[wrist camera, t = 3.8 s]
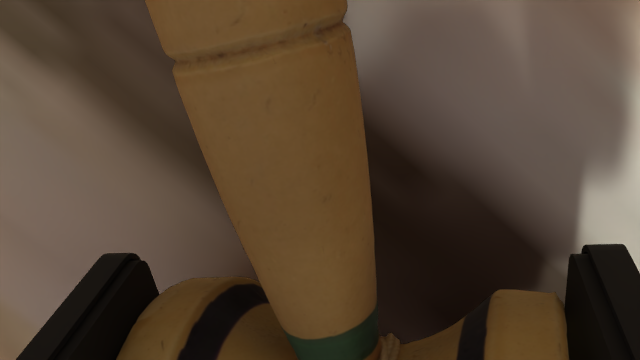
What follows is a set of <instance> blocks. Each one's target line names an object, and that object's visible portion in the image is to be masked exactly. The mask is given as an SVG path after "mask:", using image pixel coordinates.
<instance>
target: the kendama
mask: <svg viewBox="0 0 640 360" xmlns="http://www.w3.org/2000/svg"><path fill="white" fill-rule="evenodd" d="M145 3H146V5H147V8H148V11H149V13H150V16H151V19H152V22H153V24H154V27H155V29H156V32H157V35H158V37H159V40H160V43H161V46H162V48H163V50H164V52H165V53H166V54H167V55H168V56H169V57H171V58H172V59H174V60H175V64H174V67H173V69H172V72H173V74H174V78H175V82H176V85H177V88H178V91H179V93H180V96H181V99H182V101H183V104H184V107H185V109H186V112H187V114H188V117H189V119H190V122H191V125H192V127H193V130H194V133H195V135H196V138H197V140H198V143H199V145H200V148H201V150H202V153H203V155H204V158H205V160H206V163H207V165H208V168H209V170H210V173H211V175H212V178H213V180H214V182H215V185H216V187H217V190H218V192H219V195H220V197H221V199H222V201H223V204H224V206H225V208H226V211H227V213H228V215H229V218H230V220H231V222H232V224H233V227H234V229H235V231H236V233H237V235H238V237H239V239H240V241H241V244H242V246H243V248H244V250H245V252H246V254H247V256H248V258H249V260H250V262H251V264H252V266H253V268H254V270H255V273H256V275H257V277H258V279H259V282H258V281H256V280H254V279H251V278H247V277H216V278H215V277H211V278H192V279H189V280H186V281H182V282H181V283H179V284H176V285H174V286H171V287H170V288H168V289H167V290H165V291H164V292H163V293H161V294H160V295H159V296H157V297H156V298H155V299H154V300H153V301H152V302H151V303H150V304H149V305H148V306H147V307H146V309H145V310H144V311H143V312H142V313H141V315H140V316H139V317H138V319H137V321H136V324H134V325H133V327H132V329H131V331H130V333H129V334H128V336H127V339H126V341H125V342H124V344H123V346H122V348H121V350H120V352H119V354H118V356H117V359H116V360H569V354H568V342H567V323H566V318H565V312H564V310H565V309H564V304H563V302H562V301H561V300H560V299H559V298H558V296H557V294H556V292H553V293H545V292H534V291H524V290H515V289H514V290H507V289H503V290H498V291H496V292H495V293H493V294H492V295H491V296H490V297H488V298H487V299H486V300H484V301H483V302H482V303H481V304H480V305H479V306H478V307H477V308H476V309H474V310H473V311H472V312H470V313H469V314H468V315H467V316H465V317H463V318H462V319H461V320H460V321H458V322H457V323H455V324H454V325H452V326H451V327H449V328H447V329H445V330H443V331H441V332H439V333H437V334H434V335H432V336H430V337H427V338H424V339H421V340H418V341H412V342H410V343H407V344H400V340H399V339H397V338H396V337H395V336H394V335H393V334H392V333H389V334H388V335H387V336H386V337H384V336H382V337H380V334H379V331H378V325H377V322H378V301H377V292H376V290H377V283H376V265H375V253H374V229H373V217H372V200H371V192H370V178H369V169H368V157H367V148H366V139H365V130H364V121H363V112H362V104H361V96H360V88H359V81H358V74H357V68H356V60H355V53H354V47H353V42H352V36H351V31H350V28H349V27H348V26H347V25H346V24H344V23H343V22H342V21H343V17H344V15H345V13H346V11H347V0H145Z"/></svg>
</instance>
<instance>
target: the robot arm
mask: <svg viewBox="0 0 640 360" xmlns="http://www.w3.org/2000/svg"><path fill="white" fill-rule="evenodd" d="M157 296H159V292H158V290H157V287H156V284H155V282H154V279H153V276H152V274H151V271H150V268H149V266H148V264H147V263H146V262H145V261H142V260H141V259H140V258H139V256H138V255H136V254H134V253H107V254H104V255H102V256H101V257H100V258H99V259H98V260H97V262H96V263H95V264H94V265H93V267H92V268H91V269H90V270H89V271H88V273H87V274H86V275H85V276H84V277H83V279H82V280H81V281H80V282H79V284H78V285H77V286H76V287H75V288H74V290H73V291H72V292H71V293H70V294H69V296H68V297H67V298H66V299H65V301H64V302H63V303H62V304H61V305H60V307H59V308H58V309H57V310H56V311H55V313H54V314H53V315H52V316H51V317H50V319H49V320H48V321H47V322H46V324H45V325H44V326H43V327H42V328H41V330H40V331H39V332H38V333H37V334H36V336H35V337H34V338H33V339H32V341H31V342H30V343H29V344H28V345H27V347H26V348H25V349H24V350H23V351H22V353H21V354H20V355H19V356H18V358H17V359H16V360H116V359H117V356H118V354H119V352H120V350H121V348H122V346H123V344H124V342H125V341H126V339H127V336H128V334H129V333H130V331H131V329H132V327H133V325H134V324H136V321H137V319H138V317H139V316H140V315H141V313H142V312H143V311H144V310H145V309H146V307H147V306H148V305H149V304H150V303H151V302H152V301H153V300H154V299H155V298H156V297H157ZM564 312H565V318H566V323H567V342H568V354H569V360H640V273H639V271H638V269H637V267H636V265H635V263H634V261H633V260H632V258H631V256H630V254H629V252H628V250H627V248H626V247H625V245H623V244H597V245H584V246H583V248H582V252H581V254H571V255H570V257H569V264H568V276H567V287H566V298H565V310H564Z"/></svg>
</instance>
